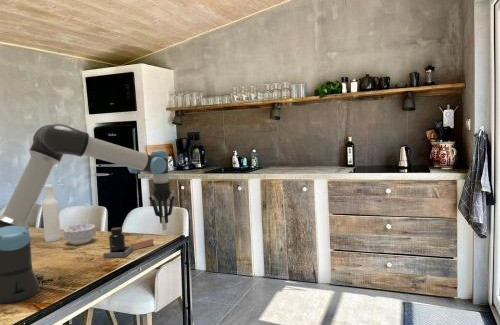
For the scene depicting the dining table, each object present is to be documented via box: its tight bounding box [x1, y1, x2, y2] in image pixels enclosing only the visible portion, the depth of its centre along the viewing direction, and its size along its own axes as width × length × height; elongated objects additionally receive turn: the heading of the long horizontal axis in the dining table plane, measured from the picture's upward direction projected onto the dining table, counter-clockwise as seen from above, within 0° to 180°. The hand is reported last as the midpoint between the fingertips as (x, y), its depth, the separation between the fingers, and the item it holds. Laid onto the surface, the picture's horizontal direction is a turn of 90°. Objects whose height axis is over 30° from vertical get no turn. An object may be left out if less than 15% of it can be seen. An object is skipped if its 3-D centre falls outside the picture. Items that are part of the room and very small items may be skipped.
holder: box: [102, 238, 155, 258], centre depth 183 cm, size 19×18×3 cm
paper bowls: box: [63, 223, 97, 246], centre depth 202 cm, size 15×15×8 cm
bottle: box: [41, 184, 62, 243], centre depth 208 cm, size 8×8×30 cm
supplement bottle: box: [108, 226, 126, 253], centre depth 179 cm, size 7×7×12 cm
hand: (164, 229), depth 190 cm, fingers closed
